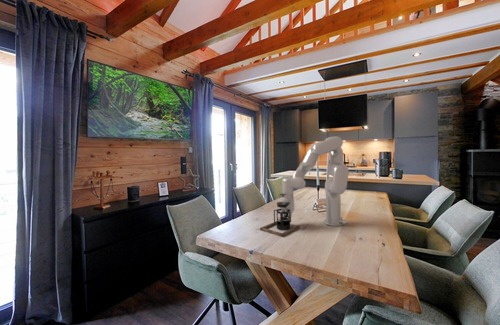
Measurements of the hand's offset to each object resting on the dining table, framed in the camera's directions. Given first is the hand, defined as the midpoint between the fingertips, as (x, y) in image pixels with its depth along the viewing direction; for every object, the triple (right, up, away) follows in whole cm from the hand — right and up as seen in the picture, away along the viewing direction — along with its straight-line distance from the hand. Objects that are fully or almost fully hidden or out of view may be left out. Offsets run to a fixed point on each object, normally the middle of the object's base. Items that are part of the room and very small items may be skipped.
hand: (288, 221), depth 149 cm
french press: (-5, -3, -5) cm, 7 cm away
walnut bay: (-6, -3, -7) cm, 10 cm away
